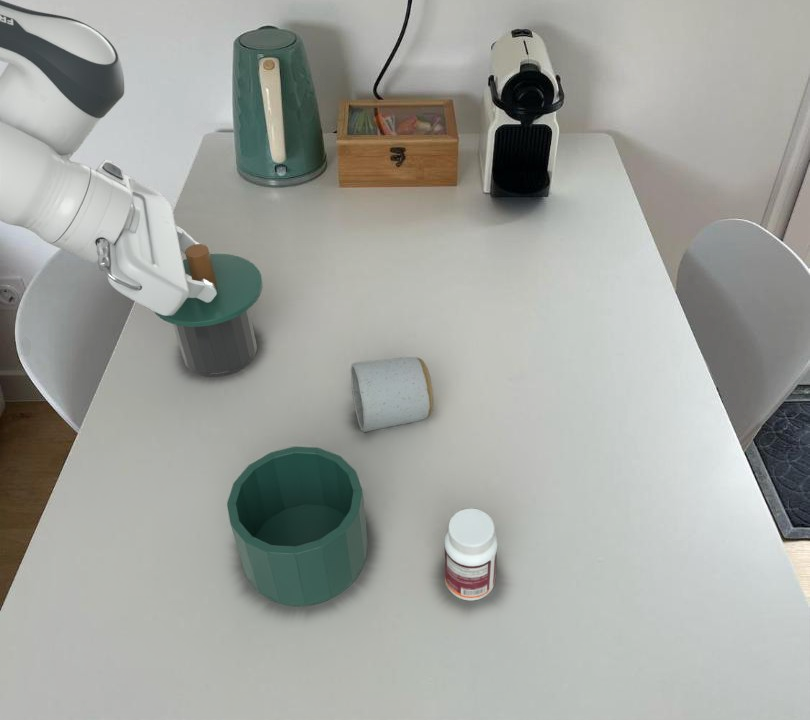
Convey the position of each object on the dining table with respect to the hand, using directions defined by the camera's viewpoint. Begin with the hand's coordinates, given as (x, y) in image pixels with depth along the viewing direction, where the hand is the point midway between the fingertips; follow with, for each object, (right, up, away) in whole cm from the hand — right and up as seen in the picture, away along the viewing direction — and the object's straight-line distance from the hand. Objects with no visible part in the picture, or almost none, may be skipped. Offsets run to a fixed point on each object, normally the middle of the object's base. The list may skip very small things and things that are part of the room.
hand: (208, 274), depth 93 cm
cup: (0, -9, +8) cm, 12 cm away
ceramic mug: (+21, -15, 0) cm, 26 cm away
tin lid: (-1, -2, +1) cm, 2 cm away
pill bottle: (+29, -31, -17) cm, 45 cm away
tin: (+13, -28, -14) cm, 34 cm away
